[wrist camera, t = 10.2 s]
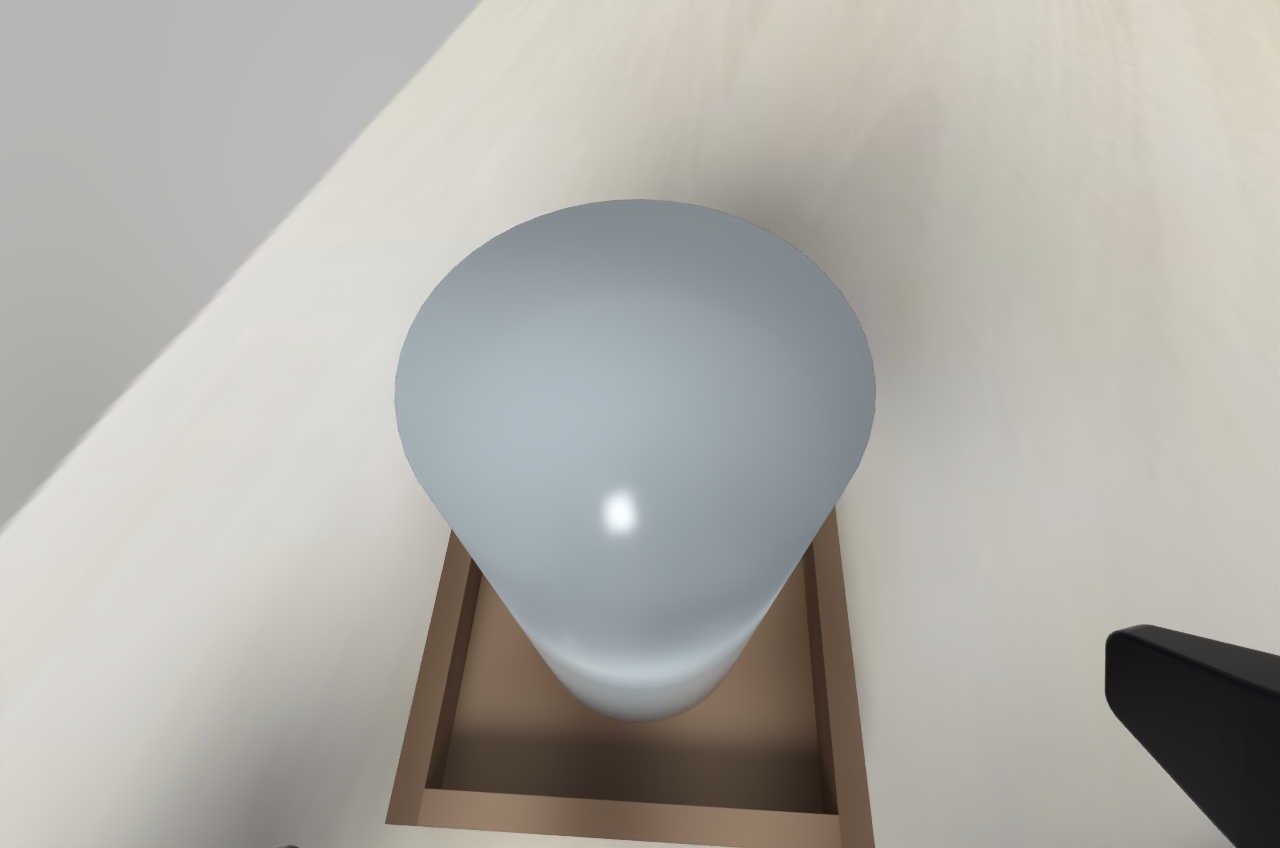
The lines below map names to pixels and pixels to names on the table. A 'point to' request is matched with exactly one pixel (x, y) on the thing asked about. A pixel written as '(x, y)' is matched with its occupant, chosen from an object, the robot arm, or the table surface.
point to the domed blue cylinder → (636, 435)
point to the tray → (641, 731)
